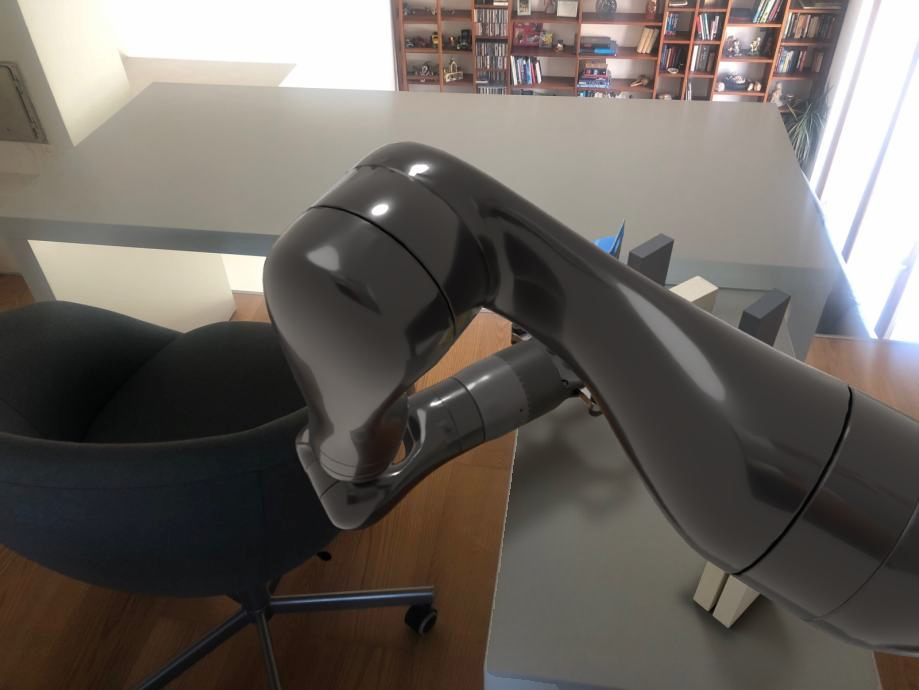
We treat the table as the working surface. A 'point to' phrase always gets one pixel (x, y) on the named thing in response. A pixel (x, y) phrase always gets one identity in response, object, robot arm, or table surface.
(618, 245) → the label tape box
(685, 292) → the thin white book
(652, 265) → the grey rectangular blocks
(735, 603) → the white books
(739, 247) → the table surface
